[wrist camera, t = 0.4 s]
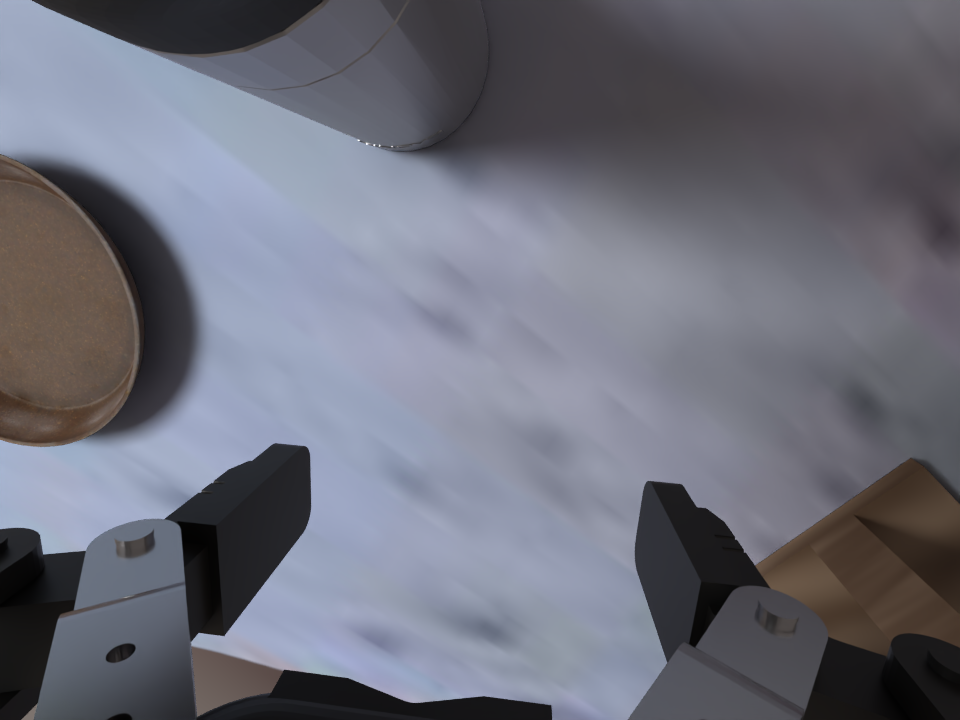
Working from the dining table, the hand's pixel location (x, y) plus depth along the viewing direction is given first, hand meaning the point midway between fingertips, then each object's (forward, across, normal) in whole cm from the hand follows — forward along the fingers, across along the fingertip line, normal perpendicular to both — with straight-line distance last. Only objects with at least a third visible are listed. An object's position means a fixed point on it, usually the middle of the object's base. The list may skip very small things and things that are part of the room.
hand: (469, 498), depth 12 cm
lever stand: (+19, -24, +13) cm, 33 cm away
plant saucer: (+19, +30, 0) cm, 35 cm away
